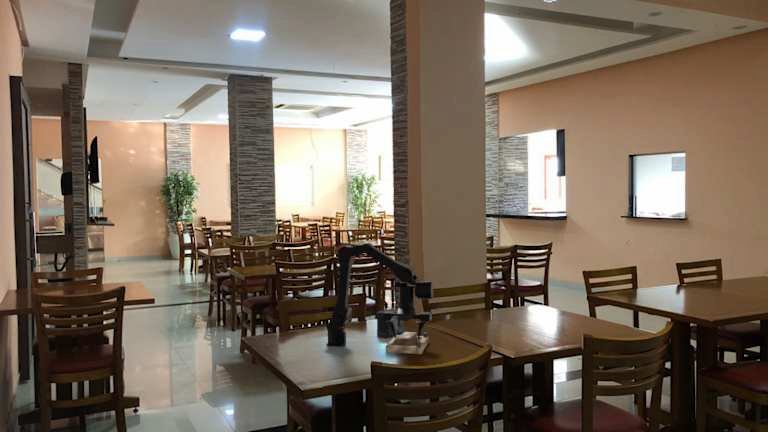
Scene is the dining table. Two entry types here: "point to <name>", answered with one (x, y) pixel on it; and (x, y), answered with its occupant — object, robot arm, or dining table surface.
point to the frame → (407, 339)
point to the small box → (387, 325)
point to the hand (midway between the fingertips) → (407, 338)
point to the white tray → (418, 349)
